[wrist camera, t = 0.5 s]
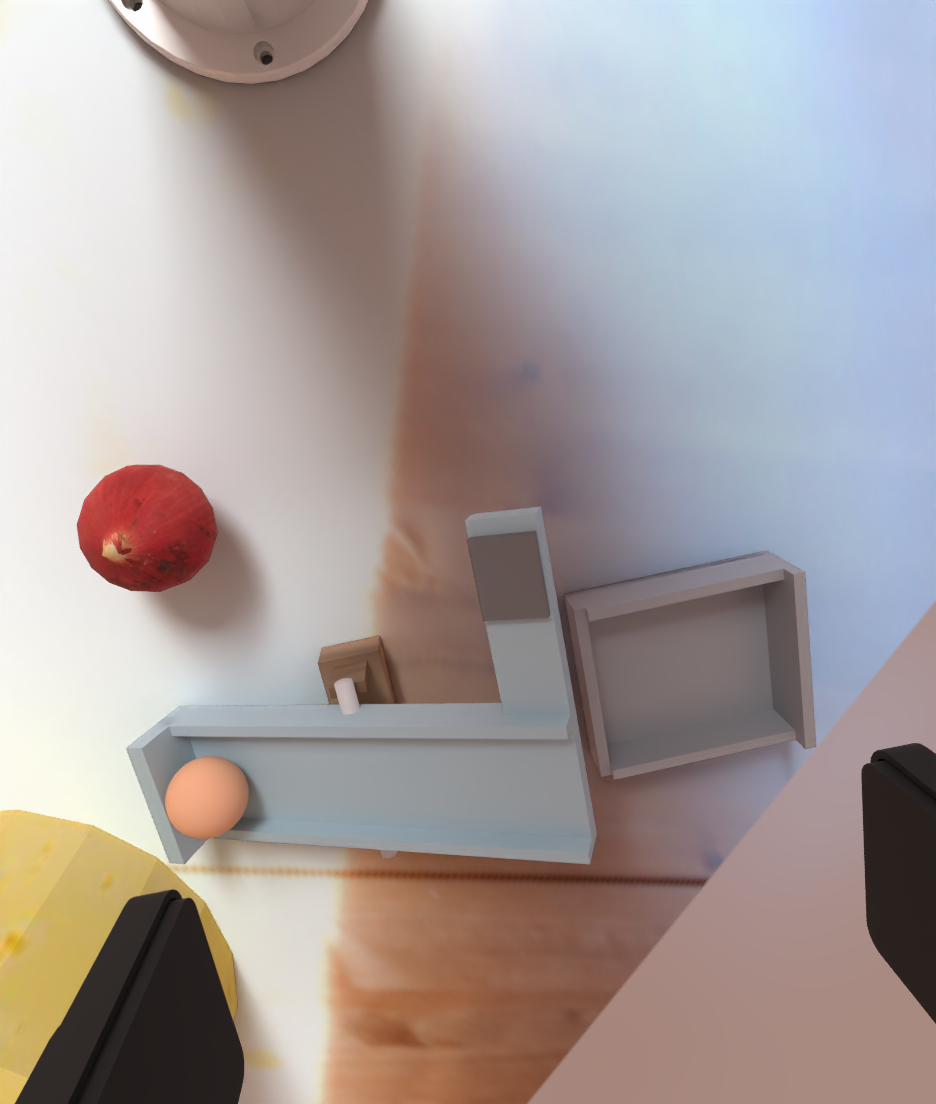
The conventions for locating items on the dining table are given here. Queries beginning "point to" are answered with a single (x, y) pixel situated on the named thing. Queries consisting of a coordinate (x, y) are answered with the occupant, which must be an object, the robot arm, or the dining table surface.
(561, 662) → the lever
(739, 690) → the dish
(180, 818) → the ball
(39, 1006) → the cheese
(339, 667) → the fulcrum
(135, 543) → the onion
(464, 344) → the dining table surface
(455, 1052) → the dining table surface
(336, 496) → the dining table surface
